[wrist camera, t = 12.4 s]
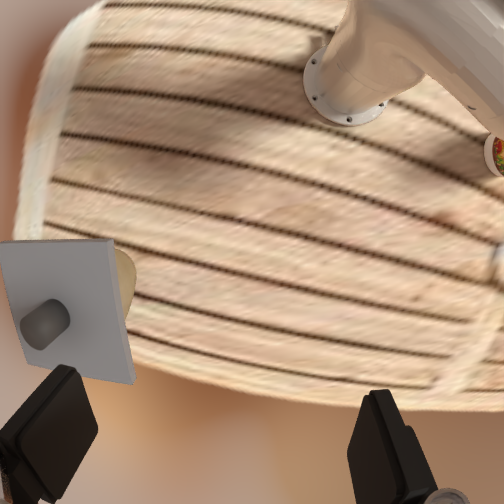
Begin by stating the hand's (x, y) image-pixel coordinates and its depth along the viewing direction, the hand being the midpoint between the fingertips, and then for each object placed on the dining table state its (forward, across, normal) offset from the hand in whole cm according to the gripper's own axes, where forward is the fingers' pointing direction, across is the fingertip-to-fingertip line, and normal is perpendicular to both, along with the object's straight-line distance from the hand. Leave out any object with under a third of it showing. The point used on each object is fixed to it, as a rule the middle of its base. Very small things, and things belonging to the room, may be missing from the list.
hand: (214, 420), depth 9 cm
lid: (+22, +22, +8) cm, 32 cm away
